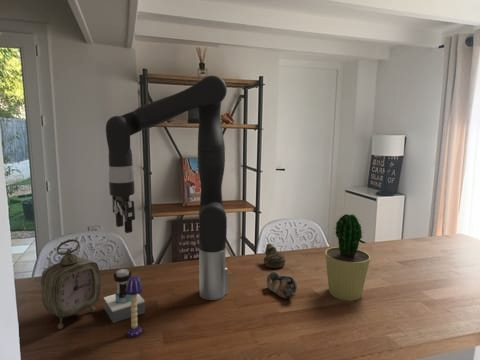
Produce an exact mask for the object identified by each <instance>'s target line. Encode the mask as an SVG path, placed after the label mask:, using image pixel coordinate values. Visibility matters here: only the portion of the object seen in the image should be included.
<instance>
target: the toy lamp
mask: <svg viewBox="0 0 480 360" xmlns="http://www.w3.org/2000/svg"><path fill="white" fill-rule="evenodd" d="M143 290H144V289H143V286H142V282H141V279H140V276H137V275H133V276H132V275H131V277H130V278H129V279H128V282H126V290H125V292H126V294H128V295H131V317H130V322H131V324H130V327H128V329H127V331H126V336H127V337H128V338H137V337H140V336H141V335H142V334H143V329H142V327H140V326H139V324H138V323H139V322H138V316H139V315H138V314H137V297H136V296H137V294H139V295H140V294H141V293H142V292H143Z"/></svg>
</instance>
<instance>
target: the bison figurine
mask: <svg viewBox="0 0 480 360" xmlns="http://www.w3.org/2000/svg"><path fill="white" fill-rule="evenodd" d="M266 286H267V288H268V289H269V290H270V291H271V292H273V293H274V294H276V295H277V296H278V297H280V298H281V299H287V298H293V297H294V296H295V295H296V291H297V288H298V285H297V281H296V279H295V278H294V277H293V276H291V275H283V274H280V273H278V271H271V272H270V273H269V274H268V275H267V276H266Z"/></svg>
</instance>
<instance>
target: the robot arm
mask: <svg viewBox="0 0 480 360" xmlns="http://www.w3.org/2000/svg"><path fill="white" fill-rule="evenodd" d="M227 92H228V89H227V84H226V82H225V81H224V80H223V79H222V78H221V77H219V76H216V75H207V76H205V77H204V78H202V79H201V80H200V81H198V82H196V83H195V84H193V85H192V86H190V87H188V88H186V89H183V90H182V91H180V92H176V93H174V94H171V95H169V96H166V97H163V98H160V99H157V100H155V101H152V102H149V103H147V104H145V105H141V106H139V107H137V108H136V109H134V110H132V111H130V112H128V113H126V114H125V113H124V114H123V115H115V116H111V117H110V118H109V119H108V120H107V121H106V125H105V136H106V142H107V143H106V144H107V147H108V183H109V184H108V186H109V196H111V199H112V213H114V216H115V225H116V227H117V228H121V227H123V228H124V233H125V234H129V233H130V234H131V233H132V232H133V221H134V220H136V214H135V213H136V212H135V211H136V210H135V201H134V200H130V196H133V195H135V192H136V190H135V173H134V172H135V171H134V168H133V167H134V166H133V165H134V164H133V153H132V149H131V136H133V135H135V134H137V133H139V132H142V131H143V130H147V129H152V127H156V126H158V125H160V124H163V123H165V122H167V121H169V120H172V119H174V118H176V117H178V116H179V115H182V114H184V113H187V112H188V111H191V110H194V109H197V110H198V111H197V112H198V132H197V133H198V134H197V164H198V165H197V166H198V176H199V183H200V200H199V207H198V208H199V210H198V219H199V222H198V223H199V224H198V225H199V226H198V229H199V233H198V234H199V241H198V242H199V243H198V244H199V245H198V248H199V249H198V253H199V255H198V258H199V260H198V261H199V262H198V263H199V270H198V271H199V272H198V273H199V277H198V278H199V280H198V281H199V296H200V298H202V299H204V300H207V301H216V300H220V299H223V298H224V297H225V295H228V293H229V290H228V284H229V283H228V282H229V279H228V277H229V275H228V274H229V269H228V268H227V267H226V249H227V248H226V244H227V230H228V228H227V227H228V226H227V225H228V224H227V223H228V220H227V219H228V218H227V213H226V211H225V209H224V203H223V192H222V190H223V189H222V185H223V180H224V174H225V167H226V166H225V165H226V147H225V146H226V145H225V139H224V133H223V128H222V125H221V105H222V101H224V99H225V98H226V96H227Z"/></svg>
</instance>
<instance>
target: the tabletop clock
mask: <svg viewBox="0 0 480 360" xmlns="http://www.w3.org/2000/svg"><path fill="white" fill-rule="evenodd" d="M73 242H75V243H77V247H75V248H74V249H72V250H71V248H68V249H66V251H65V252H60V251H59V249H60V248H61V247H62V246H64V245H65V244H68V243H73ZM79 248H80V242H79V240H77V239H68V240H67V239H66V240H65V241H62V242H61V243H59V245H58V246H57V248H56V252H57V254H58V255H61V256H62V257H61V259H60V260H59V262H57V263H55V264H53V265H50V266H48V267H46V268H45V269H44V270H43V271H42V274H41V281H40V292H41V293H40V295H41V300H42V304H43V307H44V309H45V310H46V312H49V313H51V314H52V315H54V316H56V317H58V318H59V323H58V324H57V327H56V328H57V329H58V330H62V329H63V328H64V324H63V319H64V318H68V317H70V316H73V315H75V314H78V313H80V312H82V311H84V310H86V309H88V308H89V309H90V312H91V313H95V312H96V310H97V308H96V307H95V306H93V305H94V304H96V302H97V301H99V298H100V296H101V275H100V268H99V265H98V263H97V261H96V262H95V261H92V260H89V259H87V258H83V257H78V255H76V254H74V253H75V252H76V251H77V250H78V249H79Z"/></svg>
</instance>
